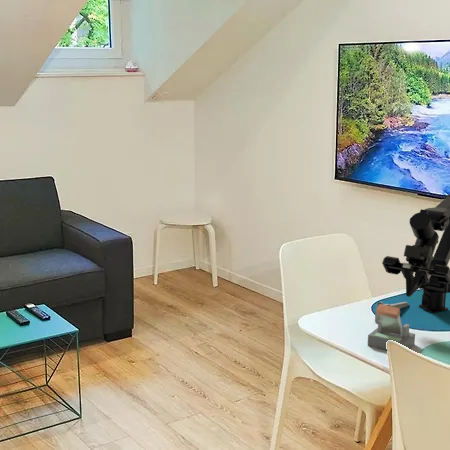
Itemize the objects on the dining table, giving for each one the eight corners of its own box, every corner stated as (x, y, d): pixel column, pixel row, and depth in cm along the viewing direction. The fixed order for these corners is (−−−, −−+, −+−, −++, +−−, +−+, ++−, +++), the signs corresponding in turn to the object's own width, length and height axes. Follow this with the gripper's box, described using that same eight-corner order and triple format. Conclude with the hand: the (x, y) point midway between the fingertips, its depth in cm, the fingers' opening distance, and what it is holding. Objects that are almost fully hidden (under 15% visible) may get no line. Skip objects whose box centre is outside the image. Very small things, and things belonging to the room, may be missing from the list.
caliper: (378, 324, 208) (379, 303, 207) (374, 323, 209) (375, 303, 207) (409, 305, 223) (410, 286, 222) (405, 304, 224) (407, 285, 223)
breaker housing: (379, 336, 199) (380, 315, 197) (414, 344, 193) (415, 323, 192) (367, 345, 192) (368, 324, 191) (403, 354, 187) (404, 332, 185)
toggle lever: (384, 325, 195) (379, 304, 189) (404, 329, 191) (399, 308, 186) (381, 331, 193) (376, 310, 188) (401, 336, 190) (396, 314, 185)
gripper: (386, 228, 204) (368, 275, 198) (452, 238, 194) (435, 288, 188) (395, 248, 212) (378, 294, 206) (458, 259, 202) (443, 307, 196)
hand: (407, 295), depth 199 cm, fingers closed
